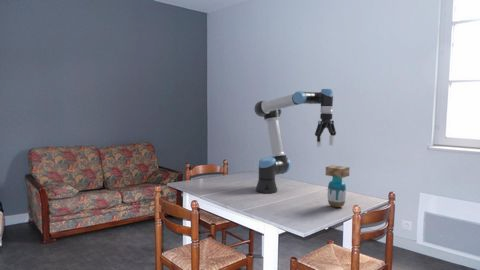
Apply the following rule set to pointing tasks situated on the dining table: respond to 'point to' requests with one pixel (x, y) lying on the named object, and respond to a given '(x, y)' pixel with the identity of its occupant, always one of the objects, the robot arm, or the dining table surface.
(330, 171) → the brown rectangular block
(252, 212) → the dining table surface
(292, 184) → the dining table surface
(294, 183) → the dining table surface
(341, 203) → the vase
